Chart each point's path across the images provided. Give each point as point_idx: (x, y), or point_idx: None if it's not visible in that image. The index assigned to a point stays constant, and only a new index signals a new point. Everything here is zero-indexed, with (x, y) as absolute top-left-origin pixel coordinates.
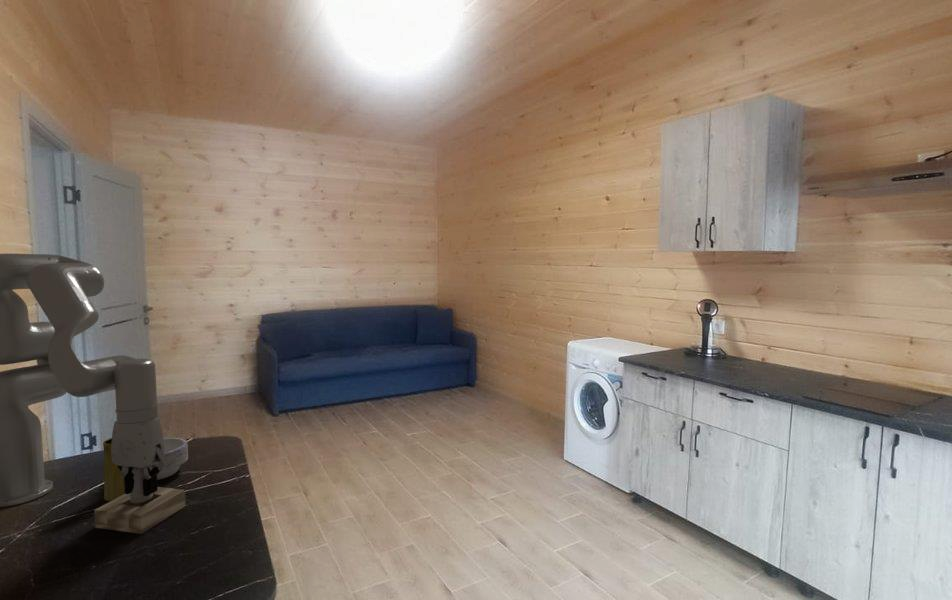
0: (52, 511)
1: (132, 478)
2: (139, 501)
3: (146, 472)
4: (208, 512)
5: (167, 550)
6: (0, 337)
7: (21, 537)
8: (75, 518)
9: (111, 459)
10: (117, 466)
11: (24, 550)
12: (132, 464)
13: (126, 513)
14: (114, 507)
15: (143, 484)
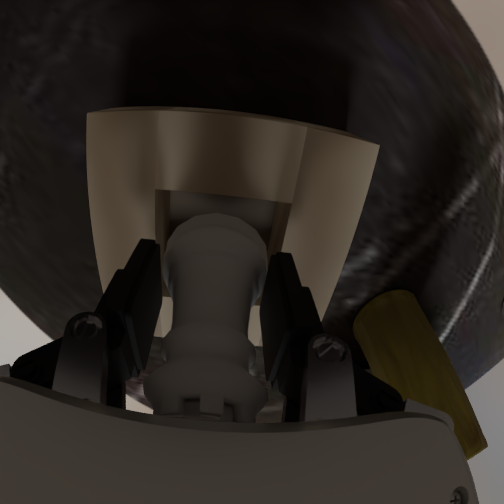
0: (490, 230)
1: (273, 338)
2: (187, 221)
3: (74, 357)
4: (44, 260)
5: (4, 70)
6: None
7: (493, 103)
8: (438, 195)
9: (446, 405)
10: (419, 389)
11: (447, 26)
12: (121, 448)
13: (177, 117)
14: (296, 170)
15: (128, 282)
